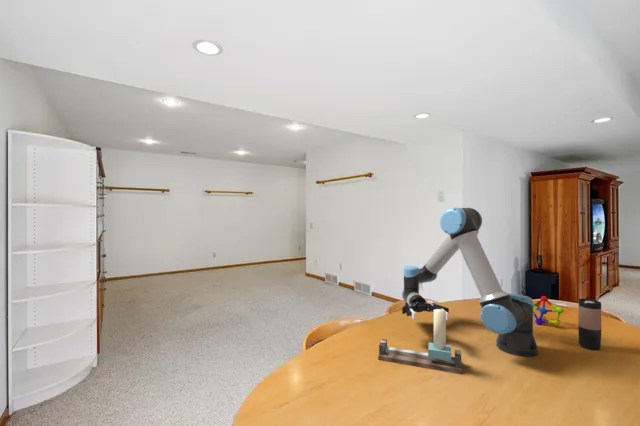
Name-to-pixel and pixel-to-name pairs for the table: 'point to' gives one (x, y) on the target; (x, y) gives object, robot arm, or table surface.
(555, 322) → the educational toy
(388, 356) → the rail board
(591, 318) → the travel mug
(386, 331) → the table surface
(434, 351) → the carriage
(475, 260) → the robot arm
